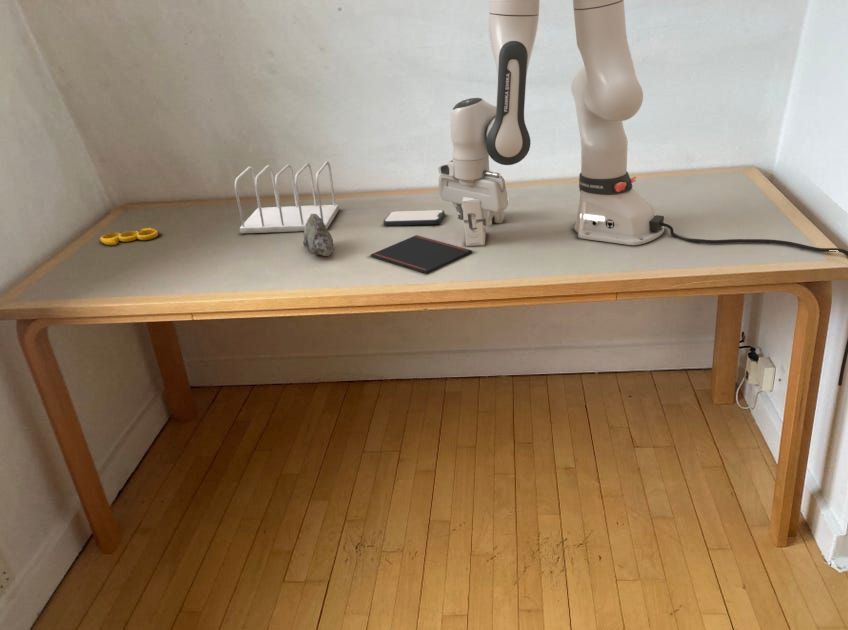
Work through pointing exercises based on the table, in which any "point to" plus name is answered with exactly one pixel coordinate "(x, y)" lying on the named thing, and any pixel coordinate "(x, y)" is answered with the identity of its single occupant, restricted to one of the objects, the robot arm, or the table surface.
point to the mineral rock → (317, 236)
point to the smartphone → (414, 218)
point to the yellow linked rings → (129, 236)
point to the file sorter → (286, 207)
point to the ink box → (473, 222)
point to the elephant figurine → (498, 215)
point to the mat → (421, 254)
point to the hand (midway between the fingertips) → (474, 222)
